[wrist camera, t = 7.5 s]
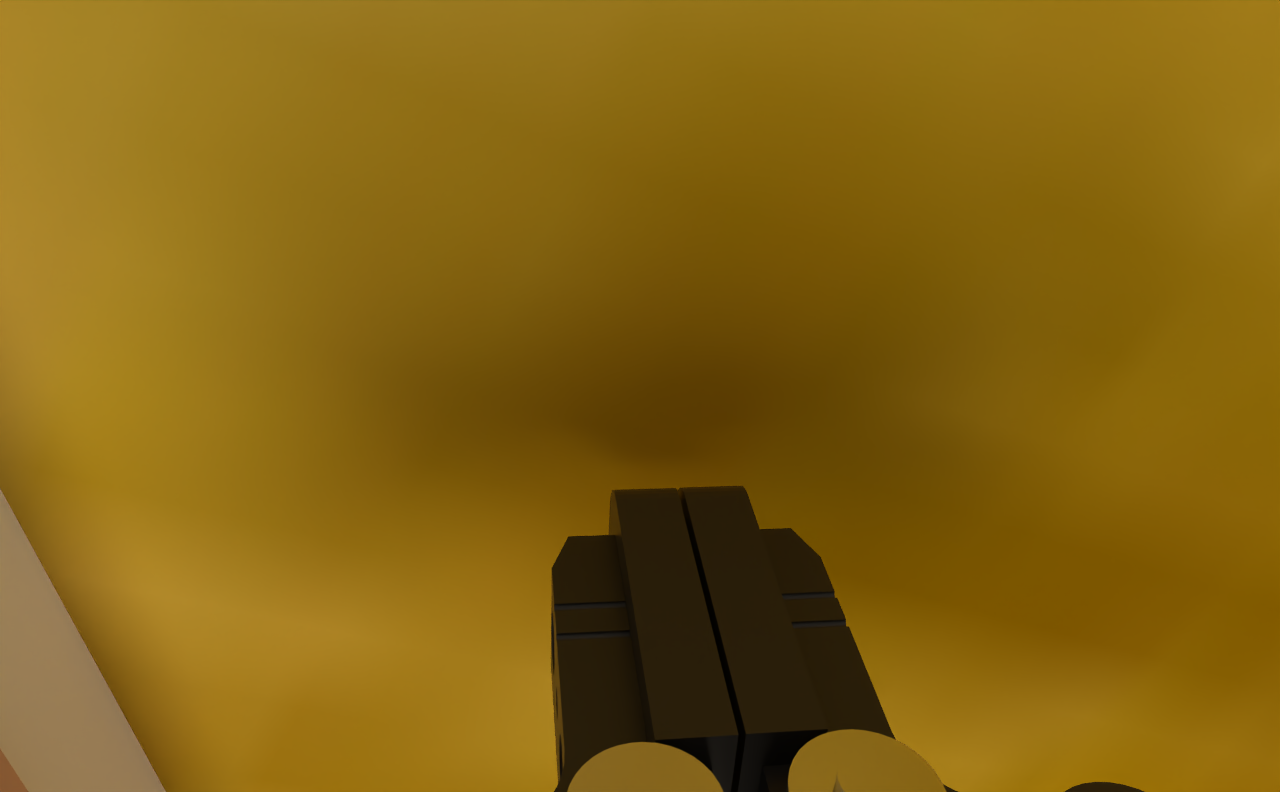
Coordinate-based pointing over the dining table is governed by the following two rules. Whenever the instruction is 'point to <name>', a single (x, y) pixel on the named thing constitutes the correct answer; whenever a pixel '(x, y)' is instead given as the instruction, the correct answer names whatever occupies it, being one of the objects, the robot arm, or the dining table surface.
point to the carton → (55, 690)
